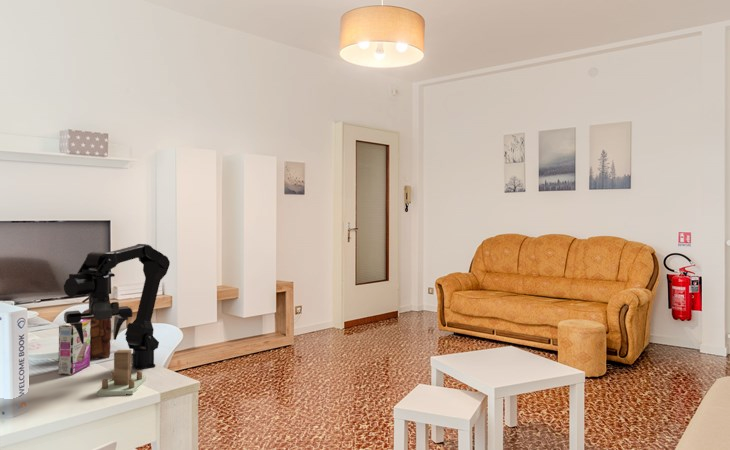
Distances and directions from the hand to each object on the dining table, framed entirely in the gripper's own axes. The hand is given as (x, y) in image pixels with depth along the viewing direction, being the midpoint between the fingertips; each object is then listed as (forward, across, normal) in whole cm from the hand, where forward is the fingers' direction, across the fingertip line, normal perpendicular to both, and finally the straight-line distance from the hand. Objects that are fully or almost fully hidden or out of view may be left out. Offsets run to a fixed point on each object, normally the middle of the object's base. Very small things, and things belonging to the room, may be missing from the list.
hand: (98, 341), depth 167 cm
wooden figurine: (+13, +4, +31) cm, 34 cm away
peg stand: (+13, +5, -9) cm, 17 cm away
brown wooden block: (+12, +5, -9) cm, 16 cm away
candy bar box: (+13, -4, +18) cm, 23 cm away
